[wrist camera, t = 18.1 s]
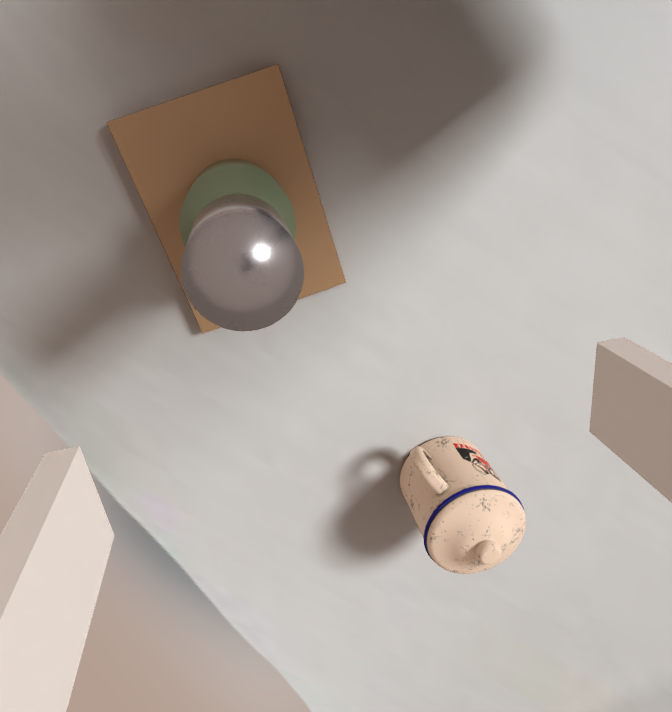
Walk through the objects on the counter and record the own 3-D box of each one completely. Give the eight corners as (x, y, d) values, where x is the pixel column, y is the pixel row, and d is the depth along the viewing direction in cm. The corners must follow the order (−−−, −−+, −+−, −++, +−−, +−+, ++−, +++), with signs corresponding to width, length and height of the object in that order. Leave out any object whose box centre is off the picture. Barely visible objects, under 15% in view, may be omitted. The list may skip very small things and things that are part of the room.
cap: (288, 293, 30) (301, 331, 25) (191, 291, 29) (182, 330, 24) (292, 196, 28) (307, 215, 23) (188, 190, 27) (178, 209, 22)
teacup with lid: (499, 471, 55) (562, 554, 45) (428, 523, 56) (473, 615, 46) (437, 395, 50) (492, 468, 40) (360, 453, 51) (394, 539, 41)
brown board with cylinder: (109, 122, 37) (53, 123, 25) (276, 65, 37) (298, 40, 25) (203, 328, 44) (194, 406, 32) (343, 278, 44) (385, 337, 32)
